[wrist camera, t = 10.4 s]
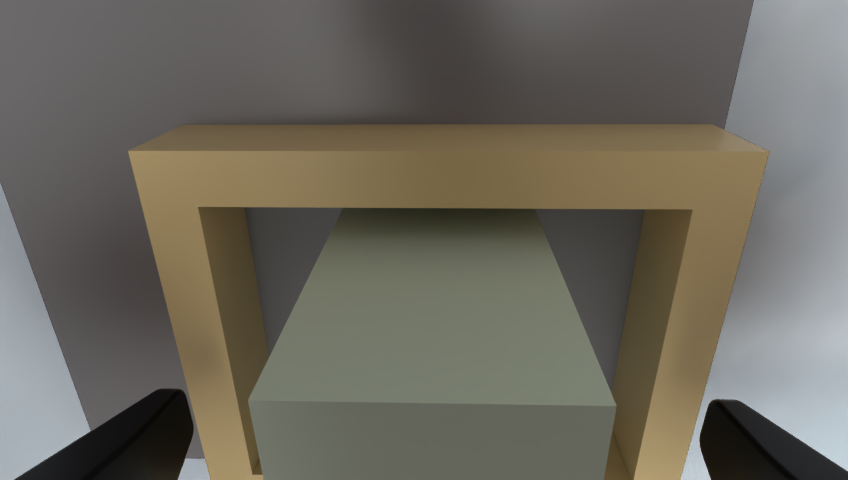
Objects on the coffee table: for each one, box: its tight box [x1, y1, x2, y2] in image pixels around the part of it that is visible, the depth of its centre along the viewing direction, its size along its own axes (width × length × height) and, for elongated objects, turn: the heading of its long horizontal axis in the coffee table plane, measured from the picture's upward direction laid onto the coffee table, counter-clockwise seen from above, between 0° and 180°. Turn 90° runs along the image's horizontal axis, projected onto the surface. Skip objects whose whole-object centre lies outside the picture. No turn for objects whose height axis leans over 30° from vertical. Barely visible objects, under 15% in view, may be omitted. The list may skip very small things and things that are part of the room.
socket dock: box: [0, 0, 770, 480], centre depth 11 cm, size 15×12×3 cm
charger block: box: [248, 208, 617, 480], centre depth 9 cm, size 4×5×6 cm
